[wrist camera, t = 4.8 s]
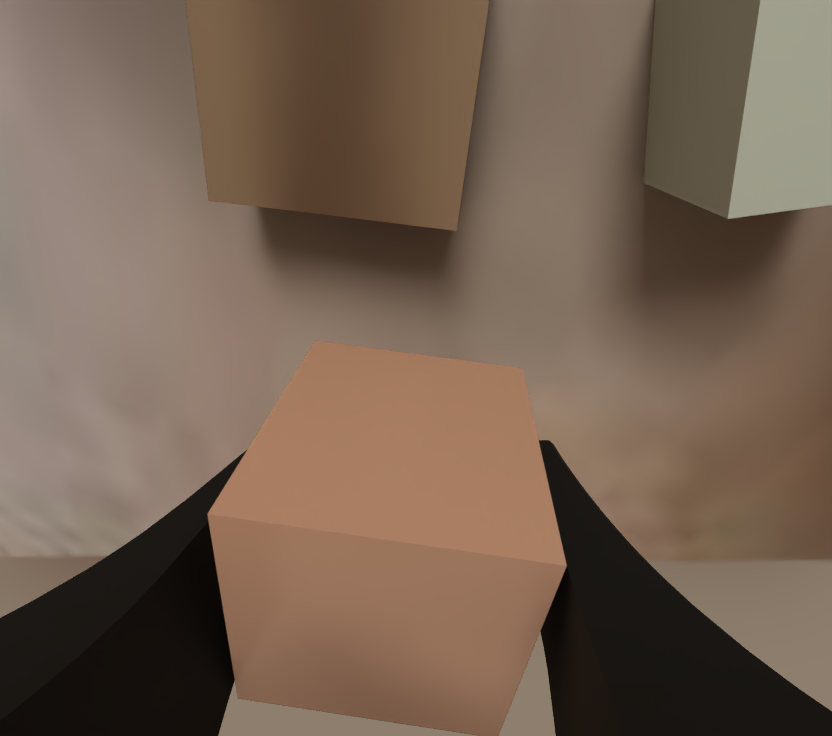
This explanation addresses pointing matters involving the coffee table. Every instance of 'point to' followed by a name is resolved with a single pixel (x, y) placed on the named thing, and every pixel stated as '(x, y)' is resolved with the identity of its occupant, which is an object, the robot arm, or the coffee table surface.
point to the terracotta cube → (389, 541)
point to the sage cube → (741, 104)
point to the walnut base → (338, 104)
